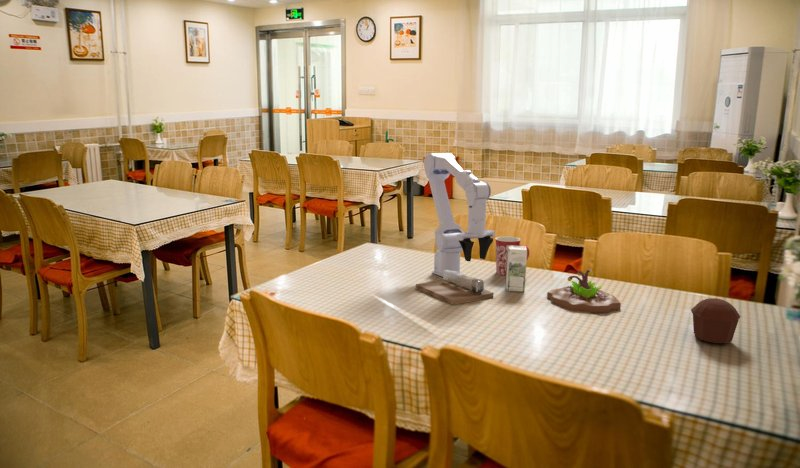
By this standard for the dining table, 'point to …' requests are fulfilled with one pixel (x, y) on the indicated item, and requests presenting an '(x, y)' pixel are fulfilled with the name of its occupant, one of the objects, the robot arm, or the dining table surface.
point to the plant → (584, 296)
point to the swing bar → (464, 280)
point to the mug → (505, 252)
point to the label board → (452, 292)
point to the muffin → (715, 320)
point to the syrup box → (516, 268)
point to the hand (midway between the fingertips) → (475, 259)
